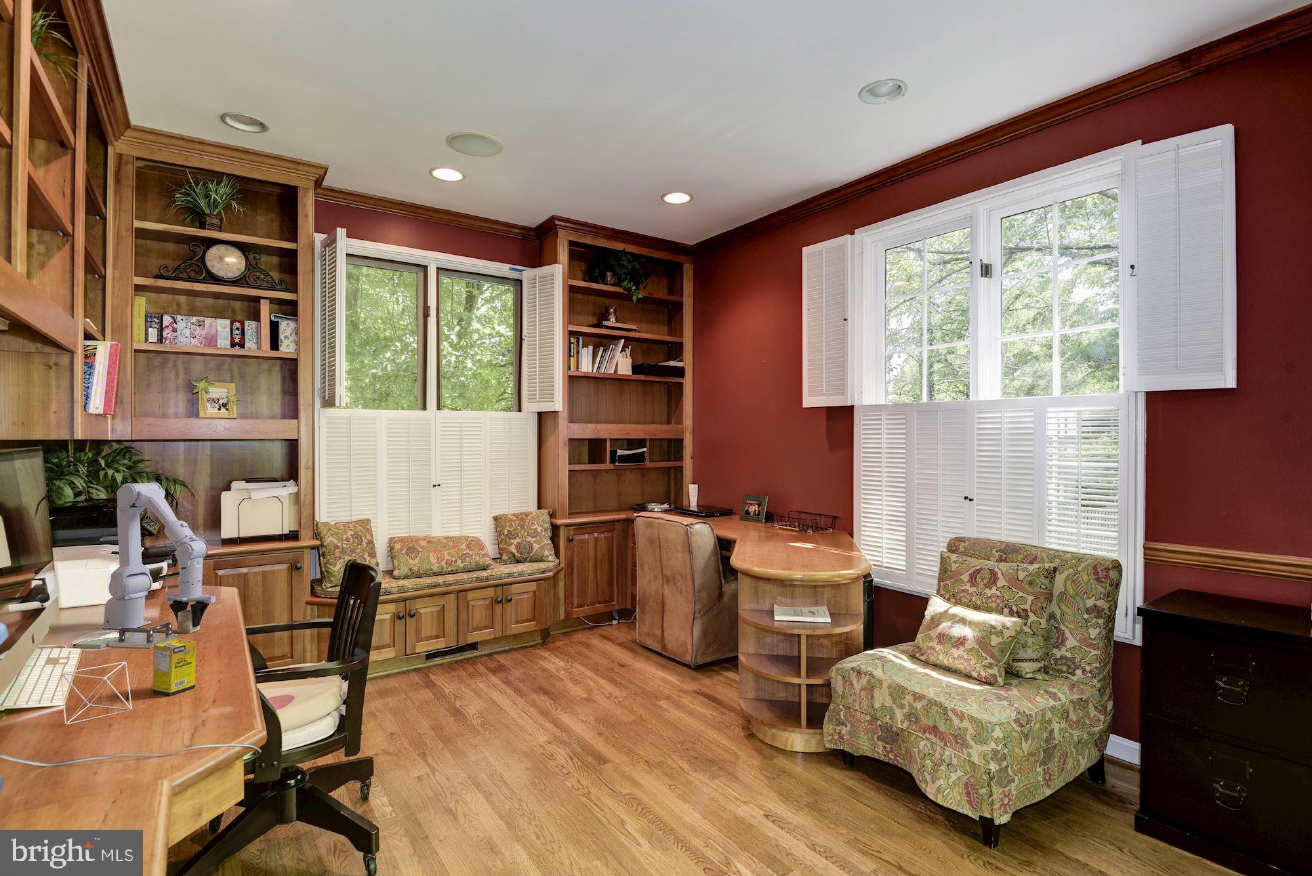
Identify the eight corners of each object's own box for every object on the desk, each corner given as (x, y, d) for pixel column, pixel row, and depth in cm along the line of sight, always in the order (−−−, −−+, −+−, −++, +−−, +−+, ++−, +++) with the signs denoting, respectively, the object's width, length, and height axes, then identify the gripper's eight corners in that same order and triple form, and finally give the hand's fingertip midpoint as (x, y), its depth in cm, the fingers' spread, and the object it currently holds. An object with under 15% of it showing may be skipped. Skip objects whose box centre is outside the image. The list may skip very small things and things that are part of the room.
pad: (75, 647, 184) (75, 643, 184) (118, 633, 198) (118, 630, 198) (100, 648, 183) (100, 644, 184) (141, 634, 197) (141, 631, 198)
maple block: (177, 632, 200) (178, 612, 200) (187, 628, 204) (187, 609, 204) (190, 632, 200) (191, 612, 200) (199, 629, 204) (200, 609, 204)
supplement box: (195, 688, 157) (197, 641, 157) (169, 696, 151) (171, 648, 151) (177, 684, 159) (179, 638, 159) (151, 692, 153) (153, 644, 153)
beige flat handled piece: (108, 646, 185) (109, 629, 186) (137, 636, 195) (138, 620, 196) (150, 648, 185) (151, 630, 185) (177, 638, 195) (178, 621, 195)
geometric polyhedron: (141, 701, 148) (143, 659, 149) (121, 720, 138) (123, 675, 138) (72, 707, 144) (73, 664, 144) (45, 727, 134) (47, 681, 134)
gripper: (157, 582, 199) (155, 628, 198) (204, 584, 198) (202, 630, 198) (174, 578, 206) (173, 622, 205) (221, 579, 205) (219, 624, 205)
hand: (188, 626), depth 202 cm, fingers closed on maple block, 4 cm apart
